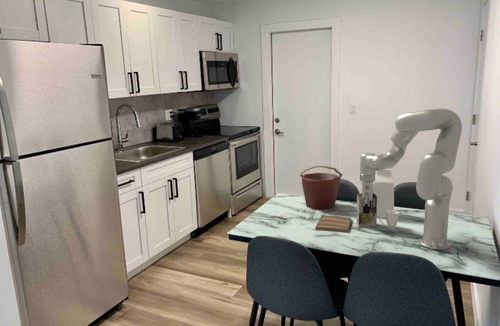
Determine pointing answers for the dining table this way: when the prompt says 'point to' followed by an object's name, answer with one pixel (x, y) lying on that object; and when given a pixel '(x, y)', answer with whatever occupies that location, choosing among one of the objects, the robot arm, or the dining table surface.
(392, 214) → the cup
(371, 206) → the coffee box
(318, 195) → the bucket
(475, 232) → the dining table surface
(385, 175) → the milk
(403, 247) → the dining table surface
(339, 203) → the dining table surface
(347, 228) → the walnut board
